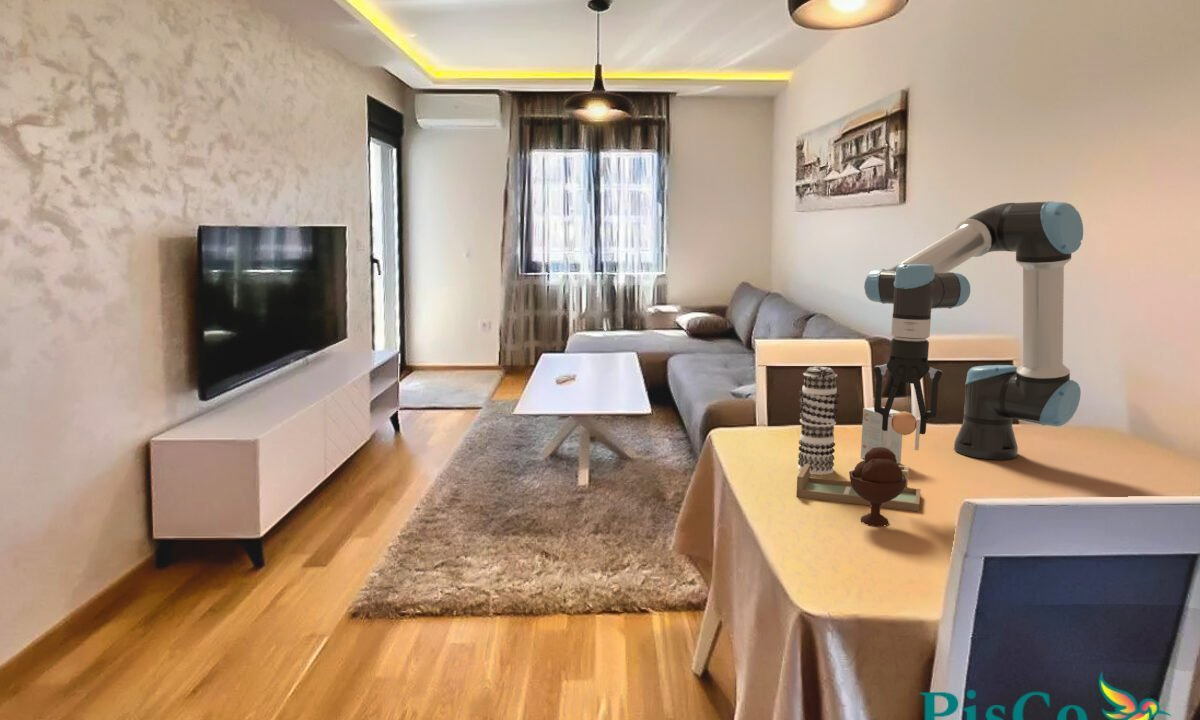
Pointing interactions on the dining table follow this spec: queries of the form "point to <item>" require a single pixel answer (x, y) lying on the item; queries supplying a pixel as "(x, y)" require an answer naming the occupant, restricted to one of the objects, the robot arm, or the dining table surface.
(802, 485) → the tray
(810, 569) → the dining table surface
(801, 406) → the decorative candle
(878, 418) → the small box
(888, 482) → the ice cream bowl
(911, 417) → the ball
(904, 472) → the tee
